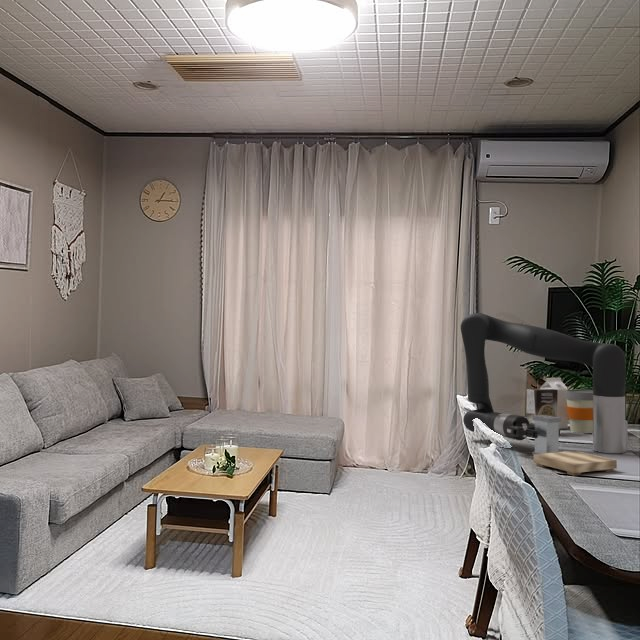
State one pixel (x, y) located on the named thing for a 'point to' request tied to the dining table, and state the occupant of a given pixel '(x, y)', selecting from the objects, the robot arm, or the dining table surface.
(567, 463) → the birch stand
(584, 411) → the reusable coffee cup
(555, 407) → the coffee box
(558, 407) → the milk carton
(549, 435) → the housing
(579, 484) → the dining table surface
